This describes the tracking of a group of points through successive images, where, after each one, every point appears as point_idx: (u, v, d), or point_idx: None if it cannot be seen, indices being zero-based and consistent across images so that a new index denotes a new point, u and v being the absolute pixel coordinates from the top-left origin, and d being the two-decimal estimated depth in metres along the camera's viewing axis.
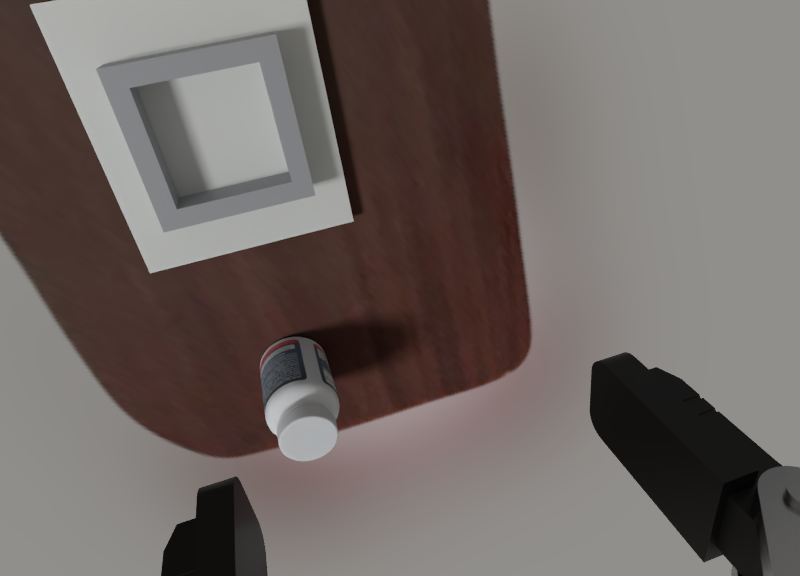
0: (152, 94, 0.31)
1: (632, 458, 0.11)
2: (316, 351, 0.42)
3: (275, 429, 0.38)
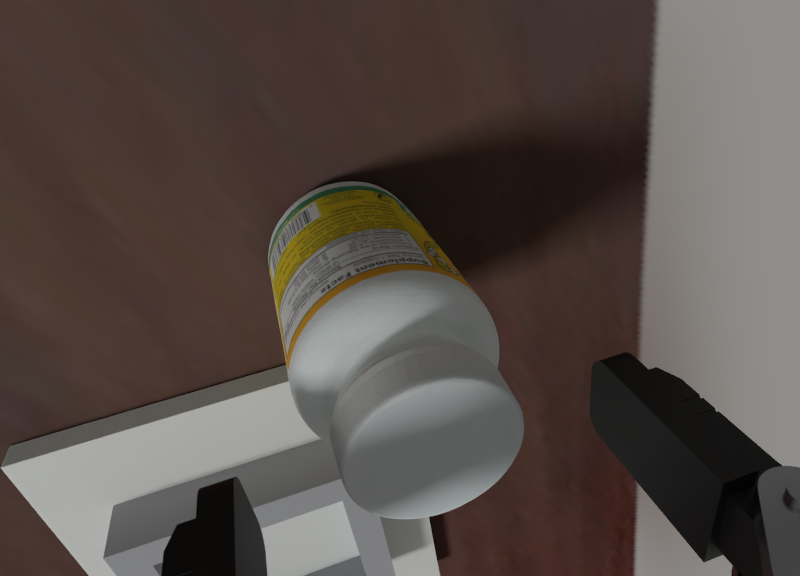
0: None
1: (632, 458, 0.11)
2: None
3: None
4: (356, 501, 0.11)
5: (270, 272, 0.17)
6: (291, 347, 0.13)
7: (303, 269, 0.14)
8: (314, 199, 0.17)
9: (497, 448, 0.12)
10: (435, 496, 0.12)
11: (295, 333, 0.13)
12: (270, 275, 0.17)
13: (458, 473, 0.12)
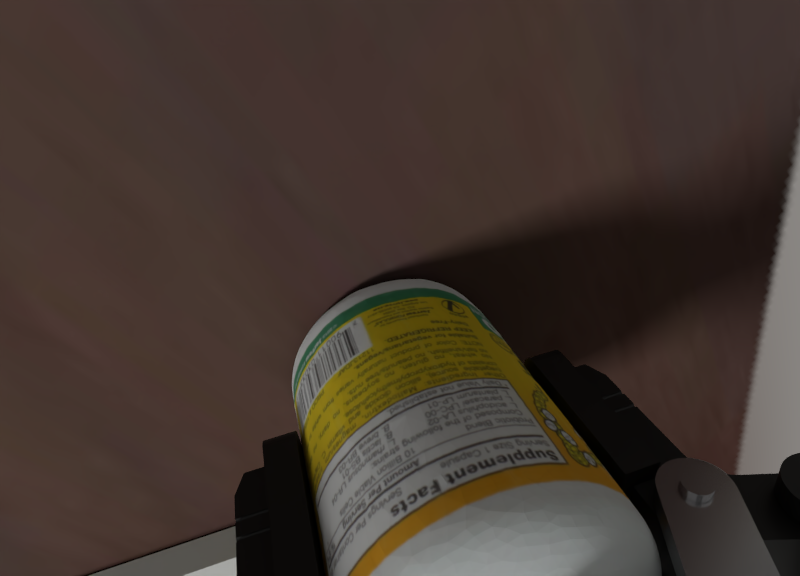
0: None
1: None
2: None
3: None
4: None
5: (296, 410, 0.12)
6: None
7: (353, 447, 0.09)
8: (358, 311, 0.12)
9: None
10: None
11: None
12: (296, 413, 0.12)
13: None
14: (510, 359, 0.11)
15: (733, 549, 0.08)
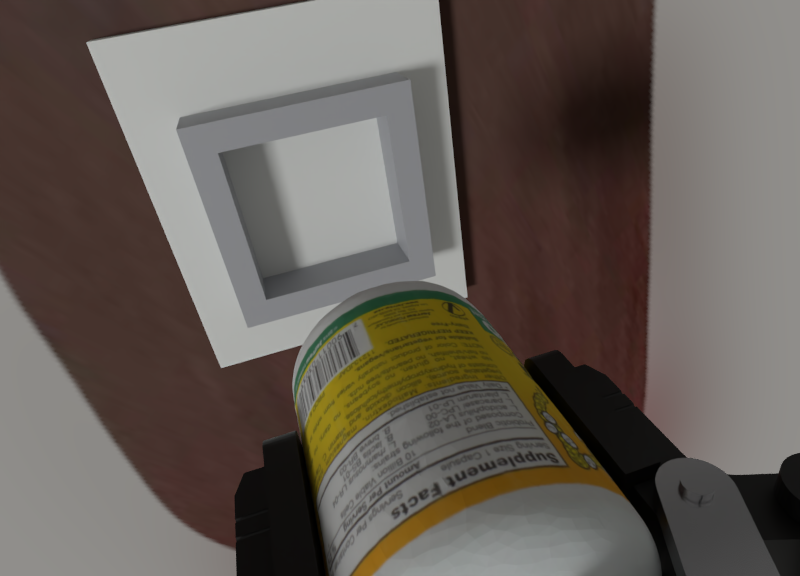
0: (239, 154, 0.24)
1: None
2: None
3: None
4: None
5: (297, 411, 0.12)
6: None
7: (353, 450, 0.09)
8: (359, 313, 0.12)
9: None
10: None
11: None
12: None
13: None
14: (510, 361, 0.11)
15: (734, 549, 0.08)
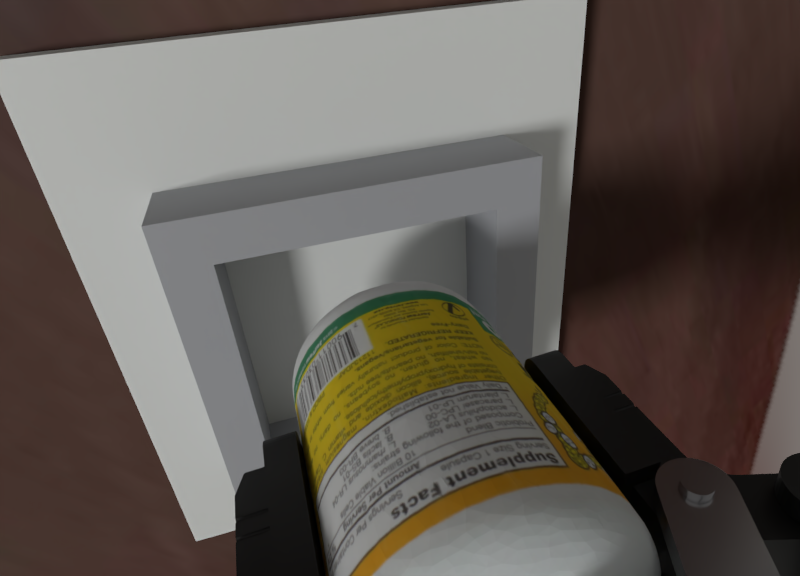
0: None
1: None
2: None
3: None
4: None
5: (296, 411, 0.12)
6: None
7: (353, 449, 0.09)
8: (359, 313, 0.12)
9: None
10: None
11: None
12: None
13: None
14: (510, 362, 0.11)
15: (732, 549, 0.08)
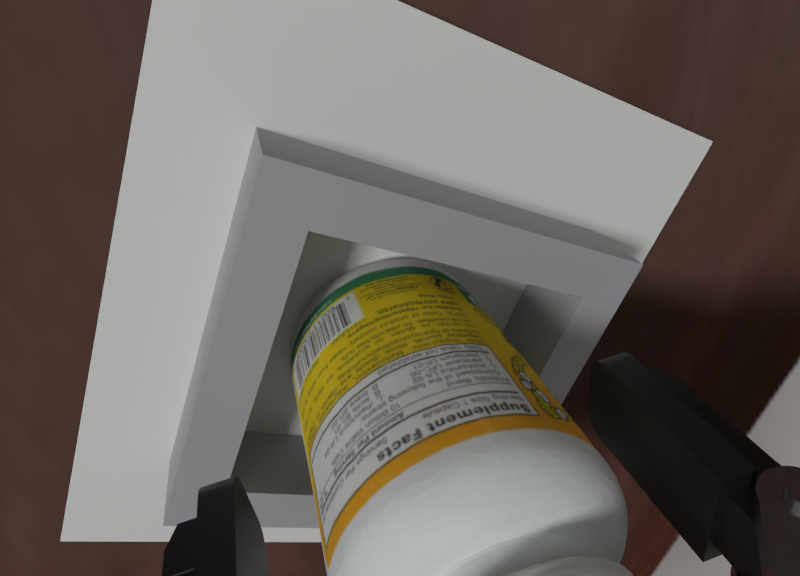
0: (313, 232, 0.13)
1: (631, 458, 0.11)
2: None
3: None
4: None
5: (293, 381, 0.13)
6: (334, 539, 0.09)
7: (345, 406, 0.10)
8: (352, 287, 0.13)
9: None
10: None
11: (340, 519, 0.09)
12: (293, 384, 0.13)
13: None
14: (492, 330, 0.12)
15: None
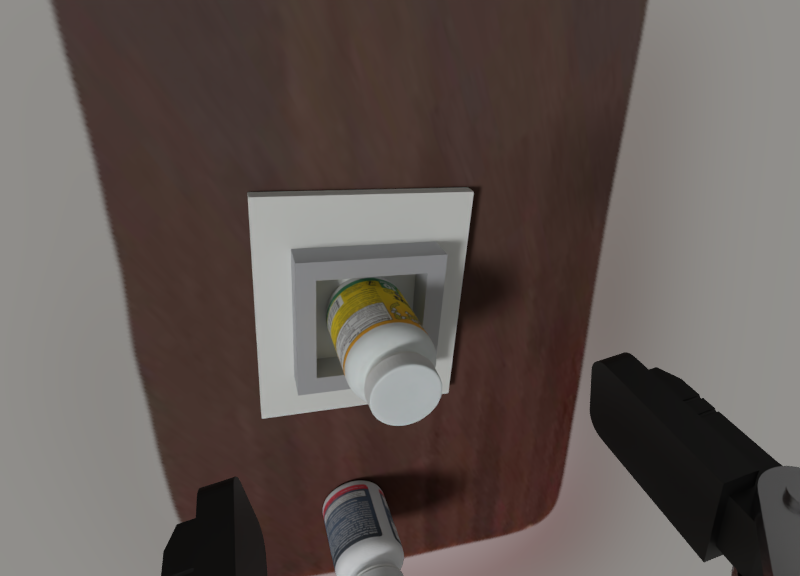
0: None
1: (632, 458, 0.11)
2: (382, 499, 0.44)
3: None
4: (381, 421, 0.29)
5: (329, 332, 0.35)
6: (343, 368, 0.30)
7: (341, 332, 0.32)
8: (339, 293, 0.34)
9: (431, 388, 0.29)
10: (414, 413, 0.29)
11: (343, 362, 0.30)
12: None
13: (419, 401, 0.29)
14: (388, 295, 0.33)
15: None
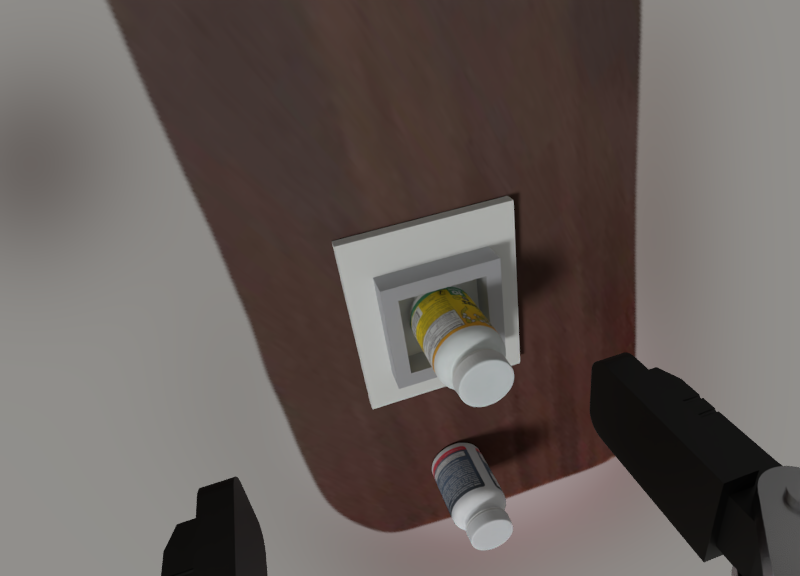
0: None
1: (632, 458, 0.11)
2: (479, 455, 0.53)
3: (461, 524, 0.49)
4: (470, 405, 0.37)
5: None
6: (433, 367, 0.38)
7: (425, 339, 0.39)
8: (417, 304, 0.42)
9: (505, 374, 0.36)
10: (494, 395, 0.37)
11: (432, 363, 0.38)
12: None
13: (497, 386, 0.37)
14: (457, 302, 0.40)
15: None
